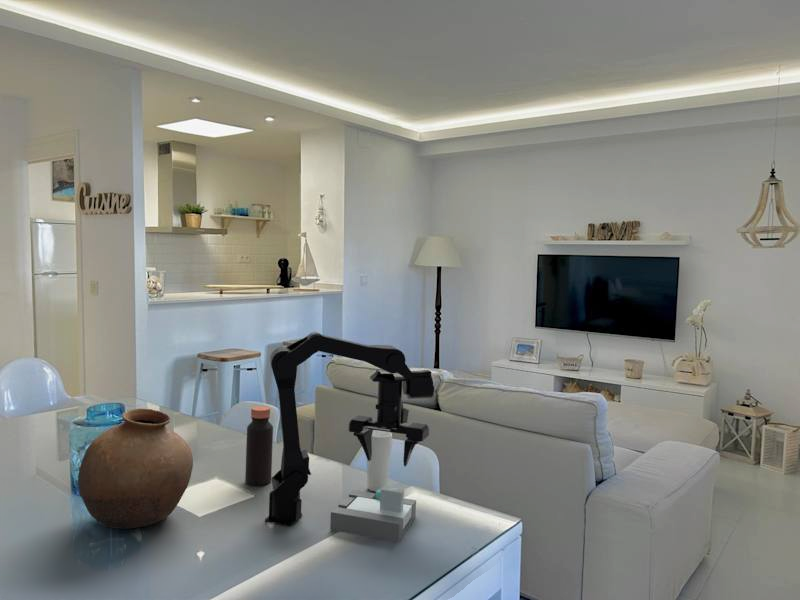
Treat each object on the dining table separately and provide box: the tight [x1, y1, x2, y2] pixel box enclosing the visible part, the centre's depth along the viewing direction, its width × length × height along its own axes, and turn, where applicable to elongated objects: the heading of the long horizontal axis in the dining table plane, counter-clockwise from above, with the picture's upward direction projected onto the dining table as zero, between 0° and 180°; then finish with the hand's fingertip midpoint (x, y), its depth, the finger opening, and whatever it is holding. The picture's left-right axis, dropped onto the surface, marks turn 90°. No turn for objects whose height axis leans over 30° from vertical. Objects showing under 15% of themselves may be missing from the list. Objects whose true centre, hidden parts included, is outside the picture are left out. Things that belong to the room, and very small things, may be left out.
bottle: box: [244, 405, 274, 487], centre depth 158 cm, size 7×7×20 cm
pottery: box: [77, 408, 194, 530], centre depth 130 cm, size 23×23×25 cm
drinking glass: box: [366, 430, 393, 493], centre depth 157 cm, size 7×7×15 cm
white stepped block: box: [346, 486, 412, 529], centre depth 136 cm, size 14×7×7 cm, turn 74°
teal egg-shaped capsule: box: [375, 489, 381, 500], centre depth 142 cm, size 3×3×3 cm
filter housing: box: [329, 489, 417, 543], centre depth 136 cm, size 16×14×4 cm
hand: (387, 463), depth 142 cm, fingers open, 9 cm apart
